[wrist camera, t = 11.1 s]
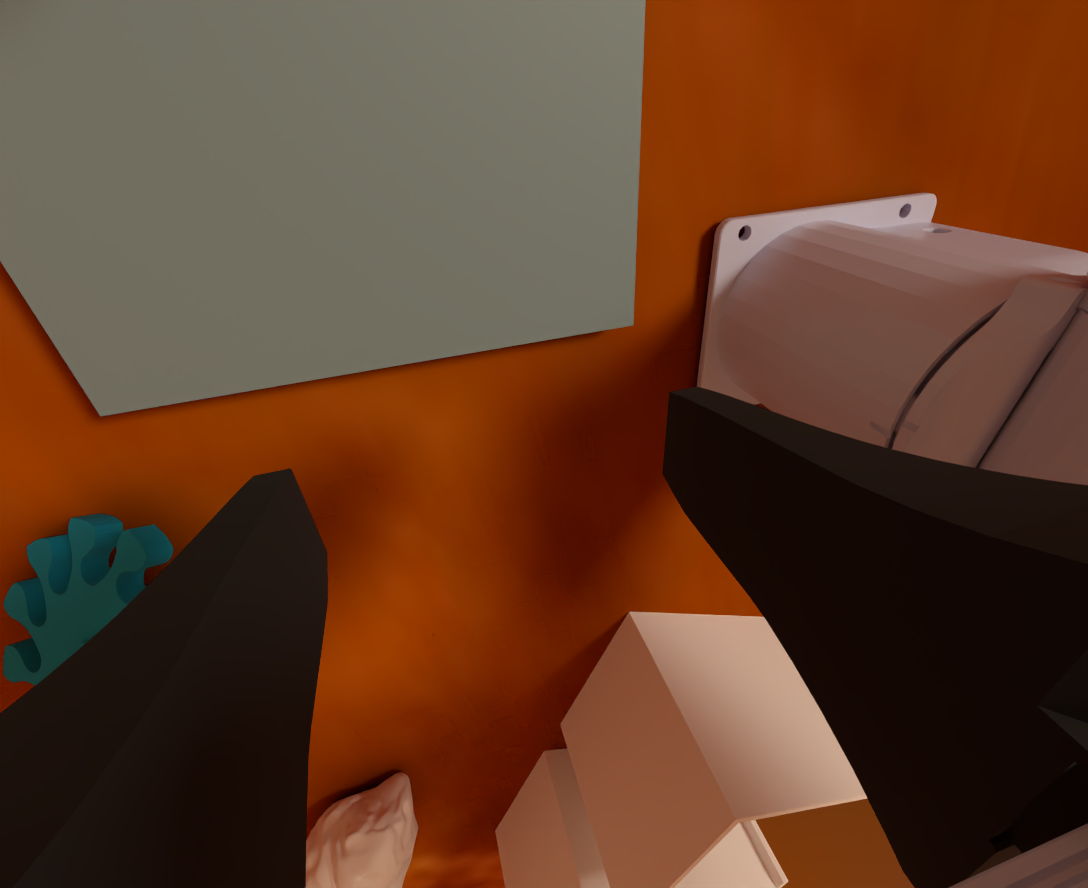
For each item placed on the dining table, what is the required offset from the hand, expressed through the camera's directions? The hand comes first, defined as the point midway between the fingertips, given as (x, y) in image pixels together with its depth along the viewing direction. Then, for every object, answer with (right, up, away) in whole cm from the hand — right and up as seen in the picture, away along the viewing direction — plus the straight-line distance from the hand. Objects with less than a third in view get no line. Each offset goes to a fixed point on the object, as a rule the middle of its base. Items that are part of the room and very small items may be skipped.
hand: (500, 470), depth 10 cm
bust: (-11, -23, +23) cm, 34 cm away
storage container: (+6, -20, +28) cm, 35 cm away
